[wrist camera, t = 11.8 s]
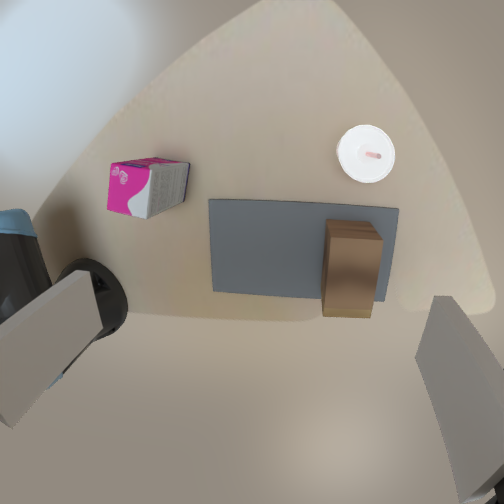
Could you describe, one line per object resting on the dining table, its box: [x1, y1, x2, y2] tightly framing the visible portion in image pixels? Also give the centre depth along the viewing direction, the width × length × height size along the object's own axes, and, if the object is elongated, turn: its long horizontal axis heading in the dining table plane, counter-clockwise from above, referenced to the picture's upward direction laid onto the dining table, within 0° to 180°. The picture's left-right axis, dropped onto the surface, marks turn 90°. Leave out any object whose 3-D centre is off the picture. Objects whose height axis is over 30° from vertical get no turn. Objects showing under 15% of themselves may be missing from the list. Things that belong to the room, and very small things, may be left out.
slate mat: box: [209, 199, 399, 302], centre depth 43 cm, size 26×14×1 cm, turn 90°
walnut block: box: [321, 219, 384, 318], centre depth 38 cm, size 10×6×8 cm, turn 0°
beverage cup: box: [336, 125, 395, 183], centre depth 30 cm, size 6×6×14 cm
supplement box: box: [107, 157, 190, 219], centre depth 37 cm, size 6×6×12 cm
